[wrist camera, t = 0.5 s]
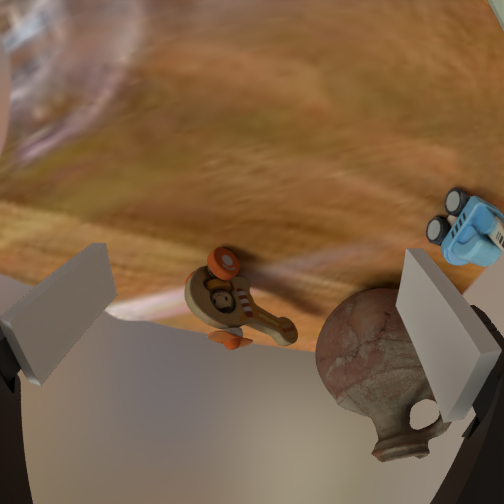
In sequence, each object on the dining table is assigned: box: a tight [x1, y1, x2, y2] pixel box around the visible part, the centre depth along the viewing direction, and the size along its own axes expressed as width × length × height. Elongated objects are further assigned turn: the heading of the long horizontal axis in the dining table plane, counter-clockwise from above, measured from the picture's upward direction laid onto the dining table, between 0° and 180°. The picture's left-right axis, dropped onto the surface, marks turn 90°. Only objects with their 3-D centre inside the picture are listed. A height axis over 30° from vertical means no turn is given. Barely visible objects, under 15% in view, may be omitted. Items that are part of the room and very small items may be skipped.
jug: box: [315, 288, 452, 462], centre depth 43 cm, size 22×22×30 cm
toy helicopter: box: [185, 247, 298, 350], centre depth 47 cm, size 8×21×14 cm, turn 51°
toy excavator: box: [426, 188, 504, 267], centre depth 33 cm, size 9×17×17 cm, turn 165°
